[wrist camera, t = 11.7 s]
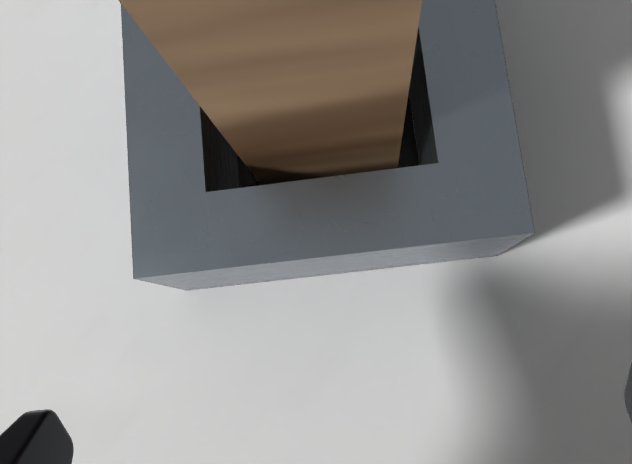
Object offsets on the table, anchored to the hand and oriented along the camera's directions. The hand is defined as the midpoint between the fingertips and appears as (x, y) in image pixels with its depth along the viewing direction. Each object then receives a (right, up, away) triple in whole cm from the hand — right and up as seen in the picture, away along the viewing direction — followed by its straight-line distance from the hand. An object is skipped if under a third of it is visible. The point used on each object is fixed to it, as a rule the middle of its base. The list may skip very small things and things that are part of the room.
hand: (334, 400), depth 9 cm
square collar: (0, +6, +9) cm, 11 cm away
